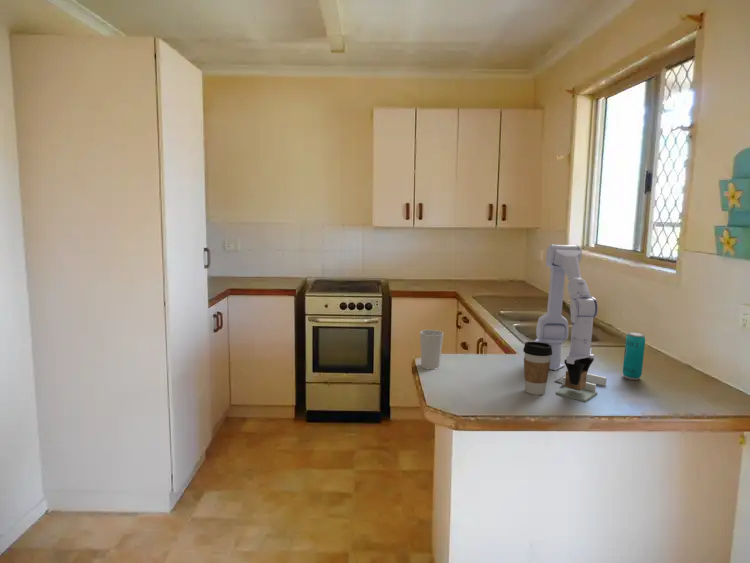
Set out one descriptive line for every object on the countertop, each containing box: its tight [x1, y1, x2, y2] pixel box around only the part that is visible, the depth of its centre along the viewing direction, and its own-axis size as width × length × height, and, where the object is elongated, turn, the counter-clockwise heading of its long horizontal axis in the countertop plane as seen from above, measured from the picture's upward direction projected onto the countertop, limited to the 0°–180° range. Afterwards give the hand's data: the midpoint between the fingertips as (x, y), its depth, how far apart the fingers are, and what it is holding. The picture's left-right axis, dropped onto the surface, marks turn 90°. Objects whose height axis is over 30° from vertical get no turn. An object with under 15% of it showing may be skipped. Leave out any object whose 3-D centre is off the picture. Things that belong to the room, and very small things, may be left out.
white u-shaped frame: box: [554, 372, 607, 392], centre depth 172 cm, size 13×10×2 cm
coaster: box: [555, 386, 598, 403], centre depth 163 cm, size 9×9×1 cm
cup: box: [419, 329, 444, 370], centre depth 185 cm, size 8×8×12 cm
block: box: [564, 369, 588, 391], centre depth 162 cm, size 4×4×5 cm
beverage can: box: [622, 331, 646, 381], centre depth 178 cm, size 6×6×15 cm
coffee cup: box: [522, 341, 552, 396], centre depth 163 cm, size 8×8×15 cm
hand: (577, 382), depth 162 cm, fingers closed on block, 4 cm apart
